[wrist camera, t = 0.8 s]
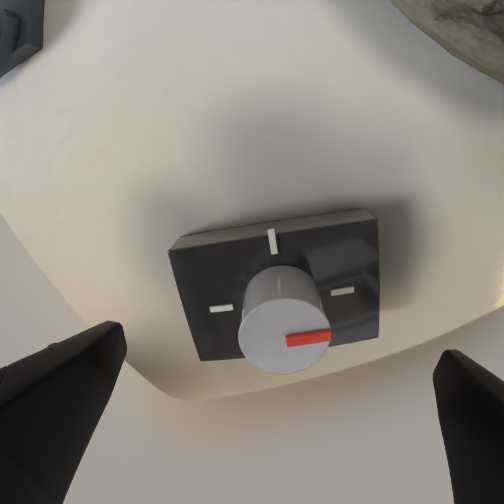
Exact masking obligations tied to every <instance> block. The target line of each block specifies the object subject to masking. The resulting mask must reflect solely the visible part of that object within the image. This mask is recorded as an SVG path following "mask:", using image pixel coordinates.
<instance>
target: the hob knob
mask: <svg viewBox="0 0 504 504" xmlns="http://www.w3.org/2000/svg"><path fill="white" fill-rule="evenodd" d="M331 340H332V338H331V327H330V324H329V321H328V317H327V314H326V311H325V308H324V305H323V302H322V299H321V296H320V293H319V290H318V287H317V285H316V283H315V281H314V280H313V279H312V278H311V276H310V275H308V274H307V273H306V272H304V271H303V270H301V269H299V268H296V267H292V266H285V265H281V266H273V267H270V268H267V269H265V270H263V271H261V272H259V273H258V274H257V275H256V276H254V277H253V278H252V280H251V281H250V282H249V284H248V286H247V288H246V290H245V294H244V301H243V307H242V314H241V320H240V327H239V333H238V341H239V345H240V349H241V351H242V353H243V354H244V356H245V357H246V358H247V359H248V360H249V361H250V362H251V363H252V364H253V365H255V366H256V367H258V368H260V369H262V370H265V371H268V372H272V373H293V372H297V371H301V370H303V369H306V368H308V367H310V366H311V365H313V364H314V363H316V362H317V361H318V360H319V359H320V358H321V357H322V356H323V355H324V353H325V352H326V350H327V348H328V346H329V343H330V341H331Z"/></svg>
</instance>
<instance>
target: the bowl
mask: <svg viewBox="0 0 504 504" xmlns="http://www.w3.org/2000/svg"><path fill="white" fill-rule="evenodd" d="M389 1H390V2H391V3H392V4H393V5H395V6H396V7H397V8H398V9H399V10H400V11H401V12H402V13H403V14H404V15H405V16H406V17H407V18H408V19H409V20H410V21H411V22H412V23H413V24H414V25H415V26H417V27H418V28H419V29H421V30H422V31H423V32H425V33H426V34H427V35H429V36H430V37H431V38H432V39H434V40H435V41H436V42H437V43H439V44H440V45H441V46H442V47H443V48H445V49H446V50H447V51H448V52H449V53H450V54H451V55H453V56H455V57H457V58H458V59H460V60H462V61H463V62H465V63H467V64H469V65H470V66H472V67H474V68H475V69H477V70H479V71H481V72H483V73H485V74H487V75H488V76H490V77H492V78H494V79H496V80H498V81H499V82H501V83H503V84H504V0H389Z"/></svg>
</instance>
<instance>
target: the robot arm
mask: <svg viewBox="0 0 504 504" xmlns="http://www.w3.org/2000/svg"><path fill="white" fill-rule="evenodd" d="M126 352H127V345H126V340H125V336H124V331H123V327H122V325H121V324H120V323H118V322H113V321H106V322H103V323H101V324H99V325H97V326H94V327H92V328H90V329H88V330H86V331H83V332H81V333H79V334H77V335H74V336H72V337H70V338H68V339H66V340H63V341H61V342H59V343H57V344H54V345H52V346H50V347H48V348H45V349H43V350H41V351H39V352H37V353H34V354H32V355H30V356H28V357H25V358H23V359H21V360H19V361H17V362H14V363H12V364H10V365H8V367H7V366H5V367H3V368H1V369H0V504H63V501H64V499H65V496H66V494H67V492H68V489H69V487H70V484H71V482H72V480H73V477H74V475H75V472H76V470H77V468H78V466H79V463H80V461H81V459H82V456H83V454H84V452H85V450H86V448H87V446H88V443H89V441H90V439H91V437H92V435H93V432H94V430H95V428H96V426H97V424H98V422H99V419H100V417H101V415H102V413H103V411H104V409H105V407H106V405H107V403H108V401H109V398H110V396H111V394H112V391H113V389H114V386H115V383H116V380H117V377H118V374H119V372H120V369H121V366H122V364H123V361H124V359H125V356H126ZM433 383H434V389H435V394H436V401H437V408H438V416H439V422H440V426H441V431H442V436H443V440H444V445H445V450H446V455H447V460H448V465H449V471H450V477H451V484H452V490H453V498H454V504H504V381H502V380H501V379H500V378H498V377H497V376H495V375H494V374H492V373H491V372H490V371H488V370H487V369H485V368H484V367H482V366H481V365H479V364H478V363H476V362H475V361H473V360H472V359H471V358H469V357H468V356H466V355H464V354H463V353H461V352H460V351H458V350H456V349H455V350H446V351H444V352H443V354H442V355H441V358H440V360H439V362H438V364H437V366H436V368H435V370H434V373H433Z"/></svg>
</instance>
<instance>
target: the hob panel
mask: <svg viewBox="0 0 504 504" xmlns="http://www.w3.org/2000/svg"><path fill="white" fill-rule="evenodd" d="M168 255H169V259H170V263H171V266H172V270H173V274H174V277H175V281H176V284H177V288H178V291H179V295H180V298H181V302H182V305H183V308H184V312H185V315H186V318H187V321H188V325H189V328H190V331H191V334H192V337H193V340H194V343H195V346H196V349H197V352H198V355H199V358H200V361H214V360H227V359H238V358H246V357H245V356H244V354H243V353H242V351H241V349H240V345H239V341H238V333H239V327H240V320H241V314H242V307H243V301H244V294H245V290H246V288H247V286H248V284H249V282H250V281H251V280H252V278H253V277H254V276H256V275H257V274H258V273H259V272H261V271H263V270H265V269H267V268H270V267H273V266H281V265H285V266H292V267H296V268H299V269H301V270H303V271H304V272H306V273H307V274H308V275H310V276H311V278H312V279H313V280H314V281H315V283H316V285H317V287H318V290H319V293H320V296H321V299H322V302H323V305H324V308H325V311H326V314H327V317H328V321H329V324H330V327H331V338H332V340H331V341H330V343H329V346H328V347H330V346H336V345H341V344H347V343H352V342H358V341H363V340H368V339H373V338H377V337H378V333H379V302H380V269H379V237H378V220H377V218H375V217H374V216H372V215H371V214H369V213H368V212H366V211H365V210H363V209H355V210H348V211H340V212H333V213H326V214H319V215H312V216H305V217H298V218H291V219H285V220H278V221H272V222H265V223H259V224H252V225H246V226H240V227H233V228H227V229H221V230H215V231H209V232H203V233H197V234H191V235H186V236H181V237H180V238H179V239H178V240H177V241H176V242H175V243H174V244H173V245H172V246H171V248H170V249H169V250H168Z"/></svg>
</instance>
